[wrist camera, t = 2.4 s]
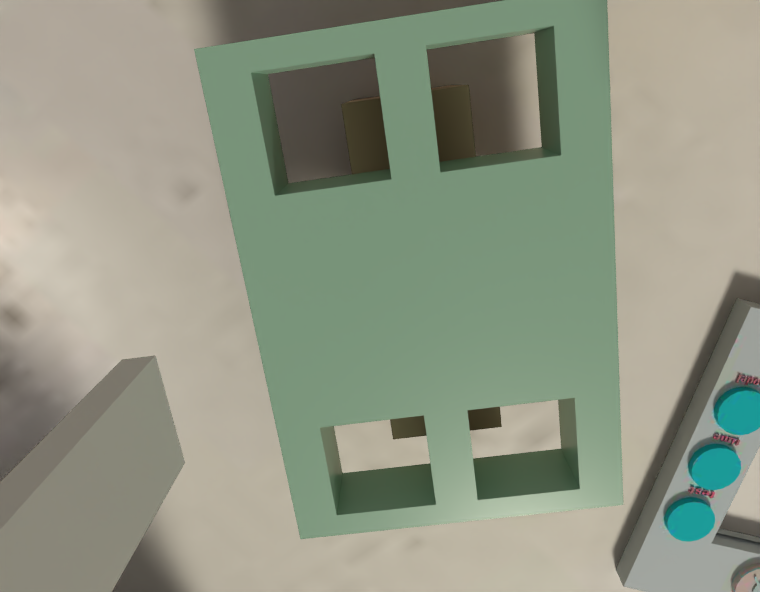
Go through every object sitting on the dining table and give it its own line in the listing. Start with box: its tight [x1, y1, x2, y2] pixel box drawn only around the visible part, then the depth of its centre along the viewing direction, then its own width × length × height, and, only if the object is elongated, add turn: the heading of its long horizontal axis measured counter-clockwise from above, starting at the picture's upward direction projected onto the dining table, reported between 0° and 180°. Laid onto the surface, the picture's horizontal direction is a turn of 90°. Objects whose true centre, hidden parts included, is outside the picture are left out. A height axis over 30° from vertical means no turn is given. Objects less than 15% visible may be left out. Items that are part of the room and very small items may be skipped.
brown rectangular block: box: [341, 85, 502, 439], centre depth 25 cm, size 4×12×6 cm, turn 8°
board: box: [194, 0, 623, 539], centre depth 21 cm, size 11×16×2 cm
